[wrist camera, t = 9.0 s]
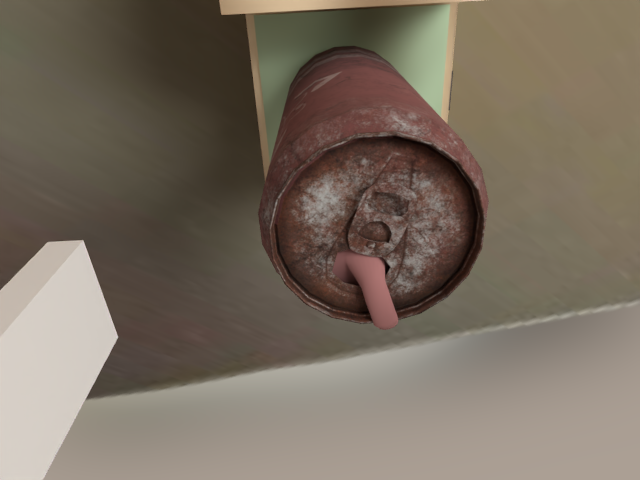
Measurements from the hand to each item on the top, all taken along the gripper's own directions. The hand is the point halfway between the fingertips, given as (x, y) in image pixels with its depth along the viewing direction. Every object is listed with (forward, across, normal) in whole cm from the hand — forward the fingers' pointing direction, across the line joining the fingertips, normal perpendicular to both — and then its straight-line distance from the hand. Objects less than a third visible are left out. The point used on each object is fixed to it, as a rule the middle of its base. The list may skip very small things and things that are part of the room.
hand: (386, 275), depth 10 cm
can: (+16, 0, 0) cm, 16 cm away
